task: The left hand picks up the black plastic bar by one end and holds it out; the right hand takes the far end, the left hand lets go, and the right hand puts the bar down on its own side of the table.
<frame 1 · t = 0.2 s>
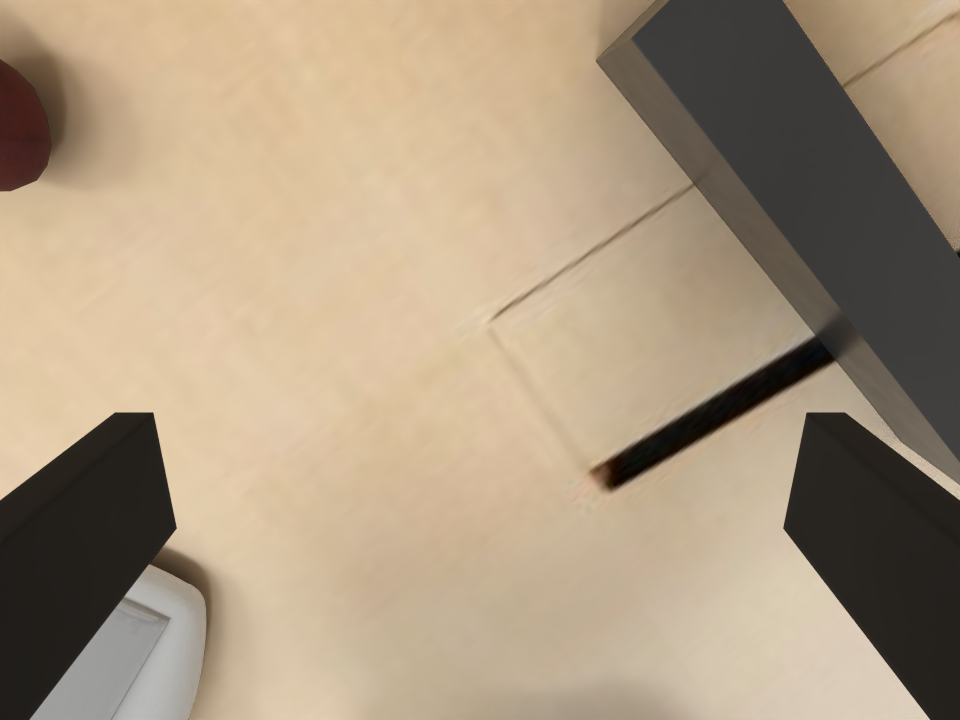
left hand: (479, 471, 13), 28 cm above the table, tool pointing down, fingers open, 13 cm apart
projector: (112, 654, 50), on the table
potato: (17, 122, 36), on the table
bar: (801, 241, 39), on the table
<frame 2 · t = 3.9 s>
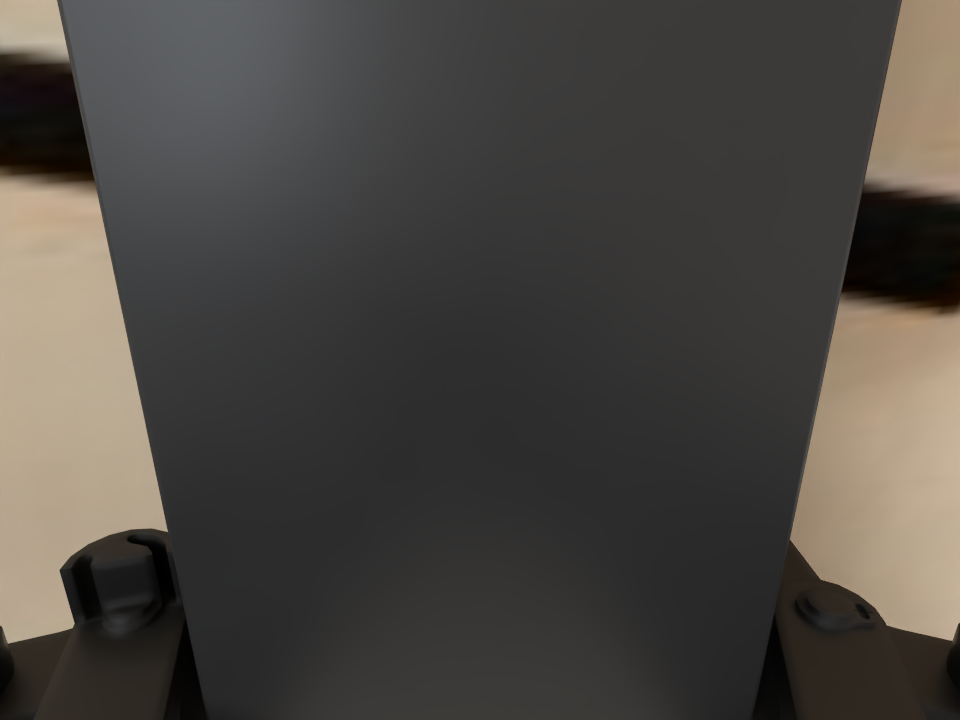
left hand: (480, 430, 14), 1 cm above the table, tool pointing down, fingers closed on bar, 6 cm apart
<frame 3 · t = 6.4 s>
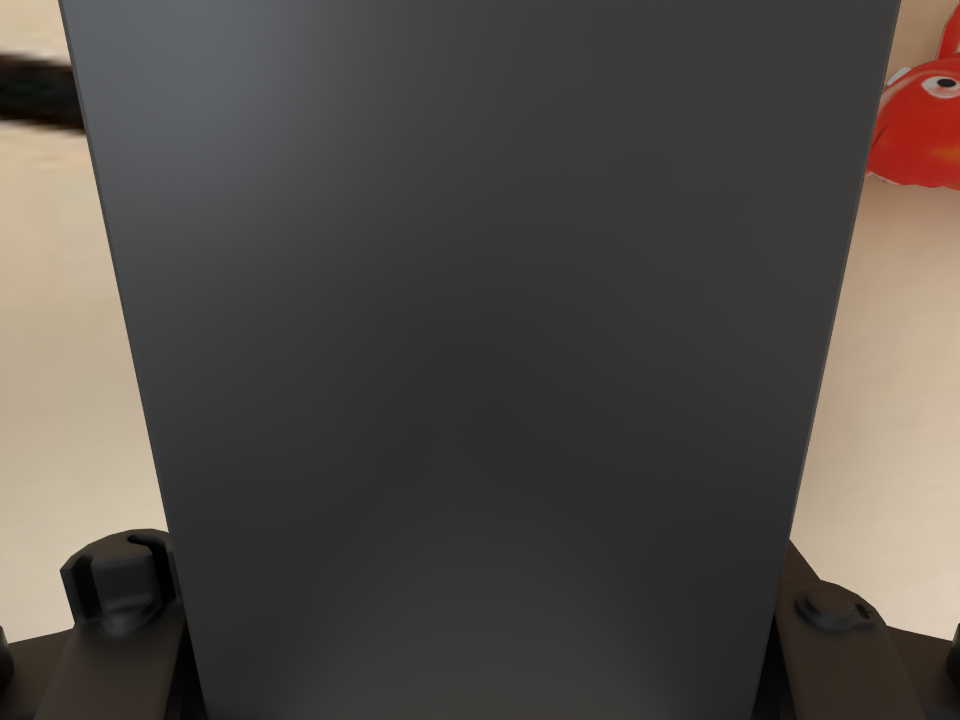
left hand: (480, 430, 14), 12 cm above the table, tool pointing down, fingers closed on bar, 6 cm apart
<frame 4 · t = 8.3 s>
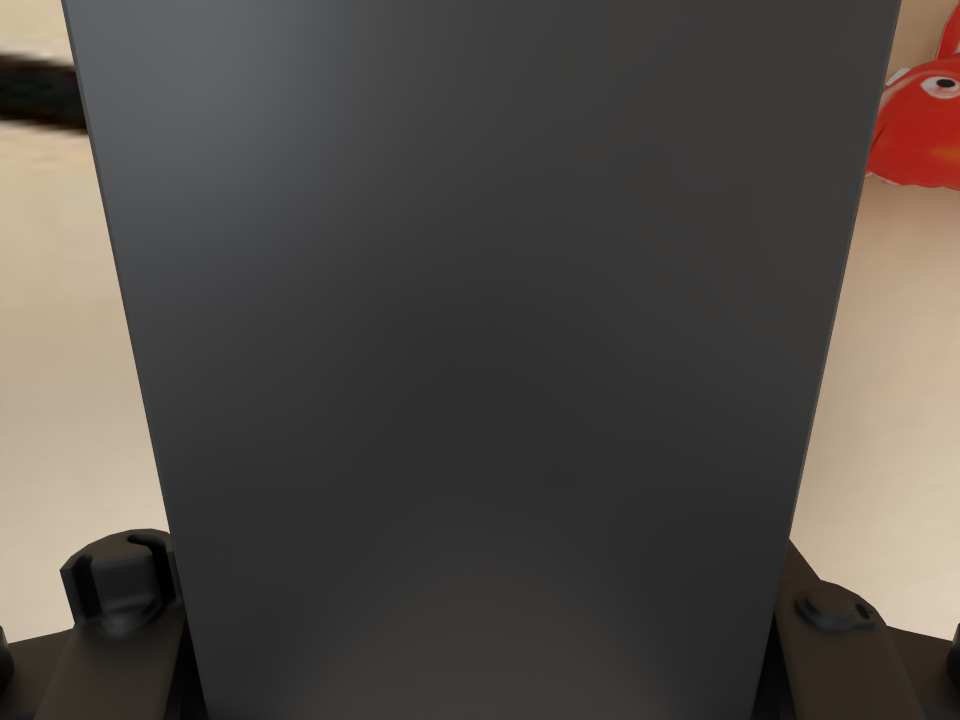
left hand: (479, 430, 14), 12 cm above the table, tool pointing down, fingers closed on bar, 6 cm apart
when the left hand's fingers open (12 cm above the table, at t = 9.0 s): bar stays where it is, held by the right hand.
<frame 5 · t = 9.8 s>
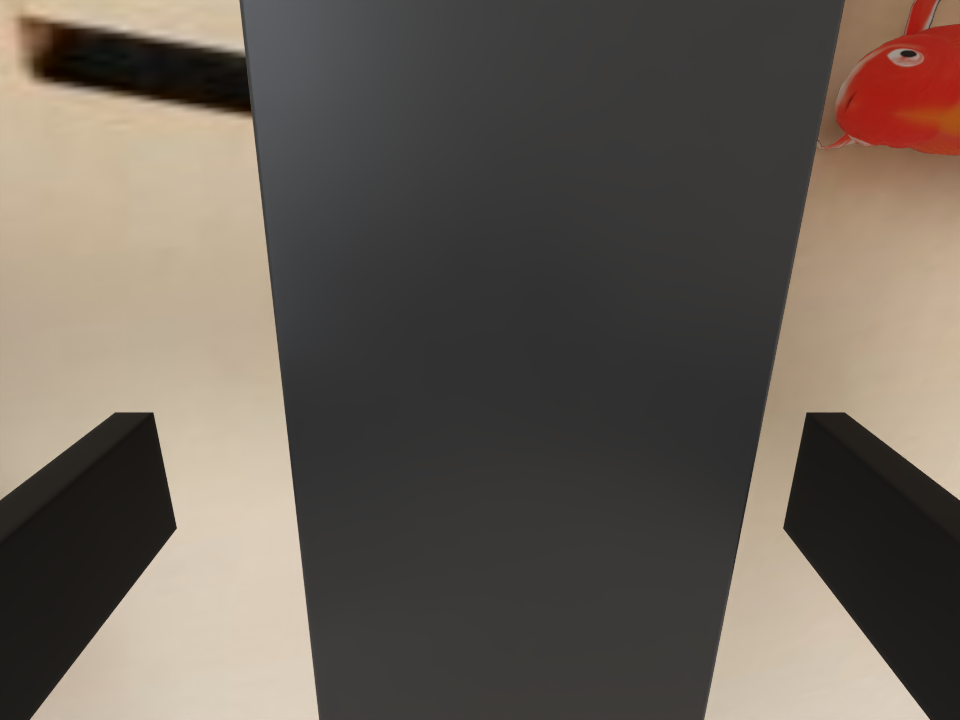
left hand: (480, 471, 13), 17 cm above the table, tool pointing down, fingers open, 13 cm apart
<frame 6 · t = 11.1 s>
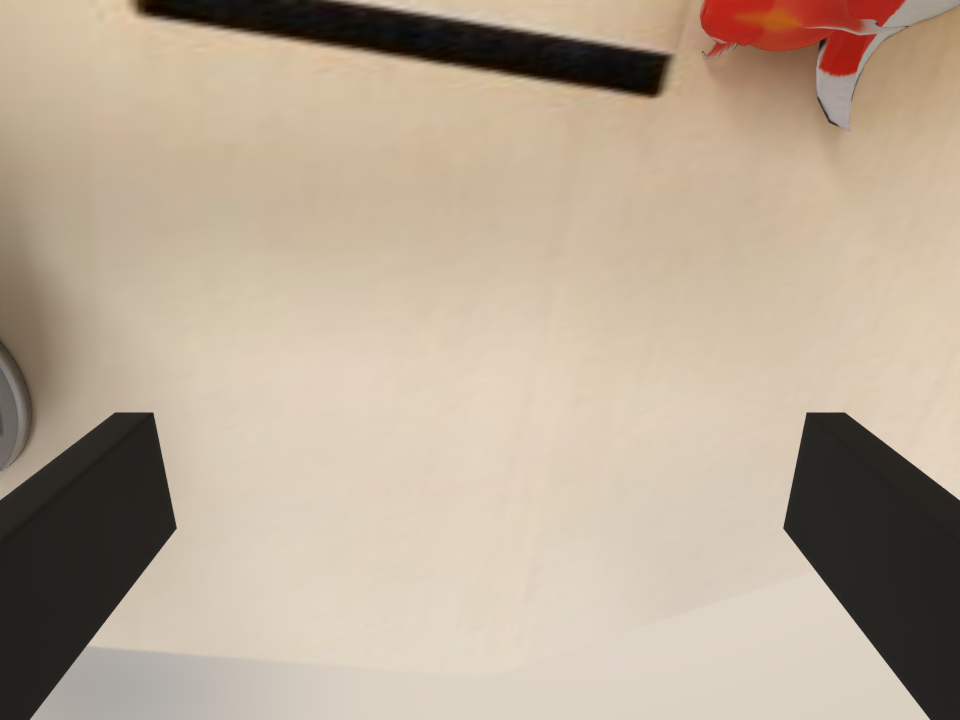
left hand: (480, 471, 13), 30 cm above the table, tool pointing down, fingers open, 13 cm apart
fish: (802, 16, 36), on the table
when the right hand's fingers open (2 cm above the table, at t = 14.1 s): bar drops 1 cm, on the table.
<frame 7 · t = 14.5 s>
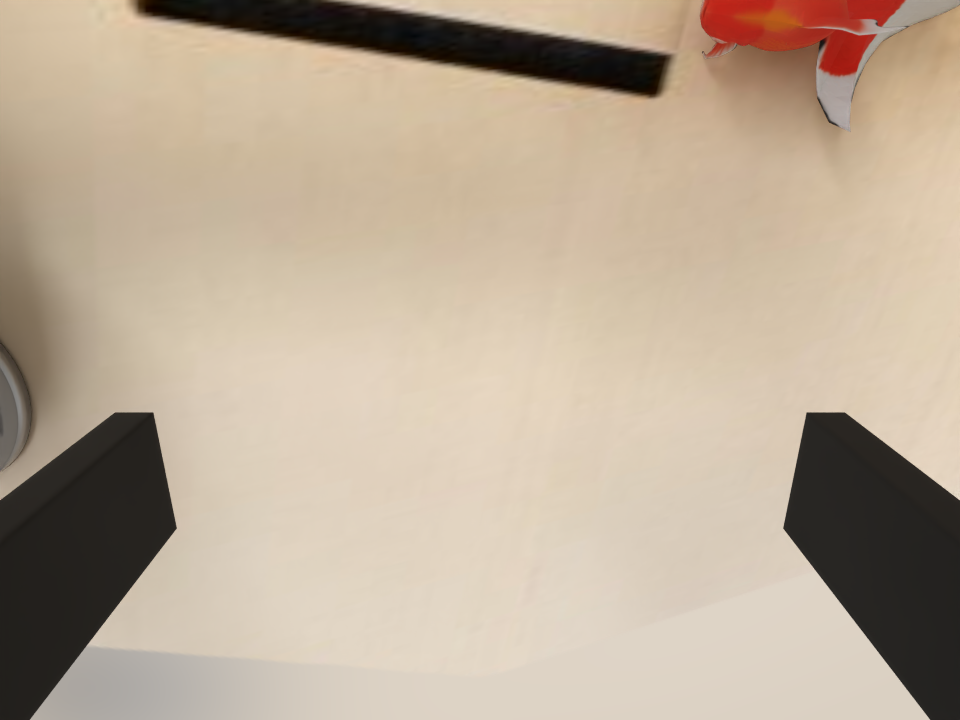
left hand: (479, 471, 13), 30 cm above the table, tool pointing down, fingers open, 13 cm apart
fish: (802, 16, 36), on the table
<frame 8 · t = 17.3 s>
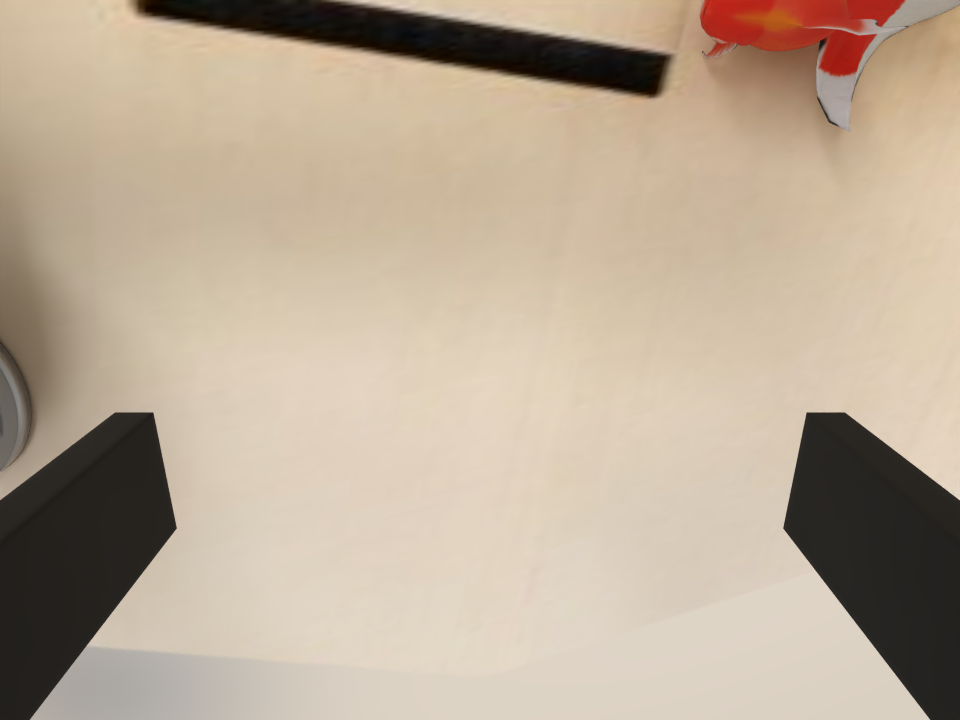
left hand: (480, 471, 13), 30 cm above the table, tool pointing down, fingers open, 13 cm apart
fish: (802, 16, 36), on the table
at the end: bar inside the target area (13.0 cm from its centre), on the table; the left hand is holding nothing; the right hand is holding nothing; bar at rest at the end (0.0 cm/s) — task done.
